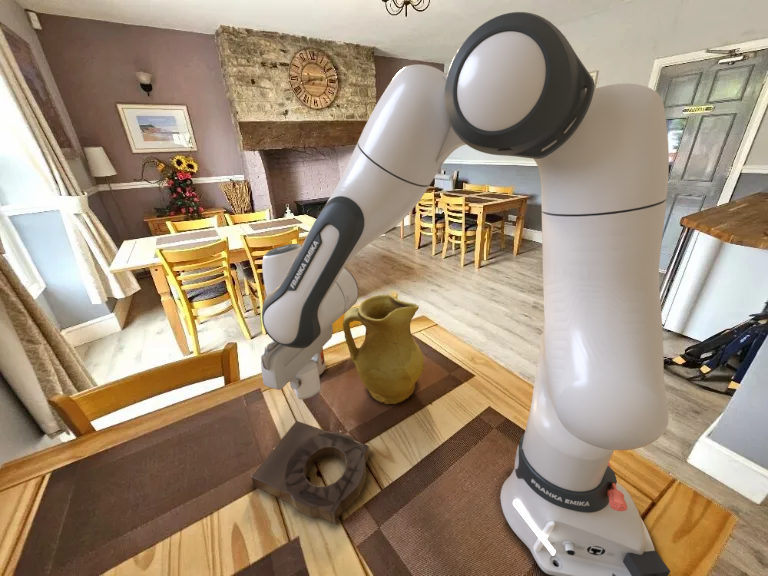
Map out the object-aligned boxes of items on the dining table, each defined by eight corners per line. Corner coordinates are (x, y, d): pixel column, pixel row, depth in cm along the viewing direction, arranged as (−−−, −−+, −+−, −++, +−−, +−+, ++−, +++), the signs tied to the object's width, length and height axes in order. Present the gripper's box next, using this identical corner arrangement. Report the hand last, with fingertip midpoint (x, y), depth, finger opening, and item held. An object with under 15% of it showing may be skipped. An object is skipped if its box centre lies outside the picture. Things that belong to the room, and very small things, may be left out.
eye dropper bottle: (320, 398, 69) (312, 354, 64) (294, 400, 68) (285, 356, 64) (322, 384, 73) (315, 342, 68) (297, 386, 72) (289, 344, 67)
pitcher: (406, 420, 72) (403, 326, 63) (343, 396, 81) (331, 310, 72) (434, 378, 86) (434, 295, 77) (376, 361, 95) (370, 285, 86)
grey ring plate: (377, 455, 65) (377, 445, 64) (342, 532, 52) (340, 521, 51) (299, 427, 72) (298, 418, 70) (251, 489, 59) (248, 479, 58)
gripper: (274, 355, 53) (287, 415, 59) (334, 303, 70) (340, 353, 76) (246, 348, 55) (261, 406, 61) (311, 299, 73) (318, 348, 78)
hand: (306, 376), depth 69 cm, fingers closed on eye dropper bottle, 5 cm apart
